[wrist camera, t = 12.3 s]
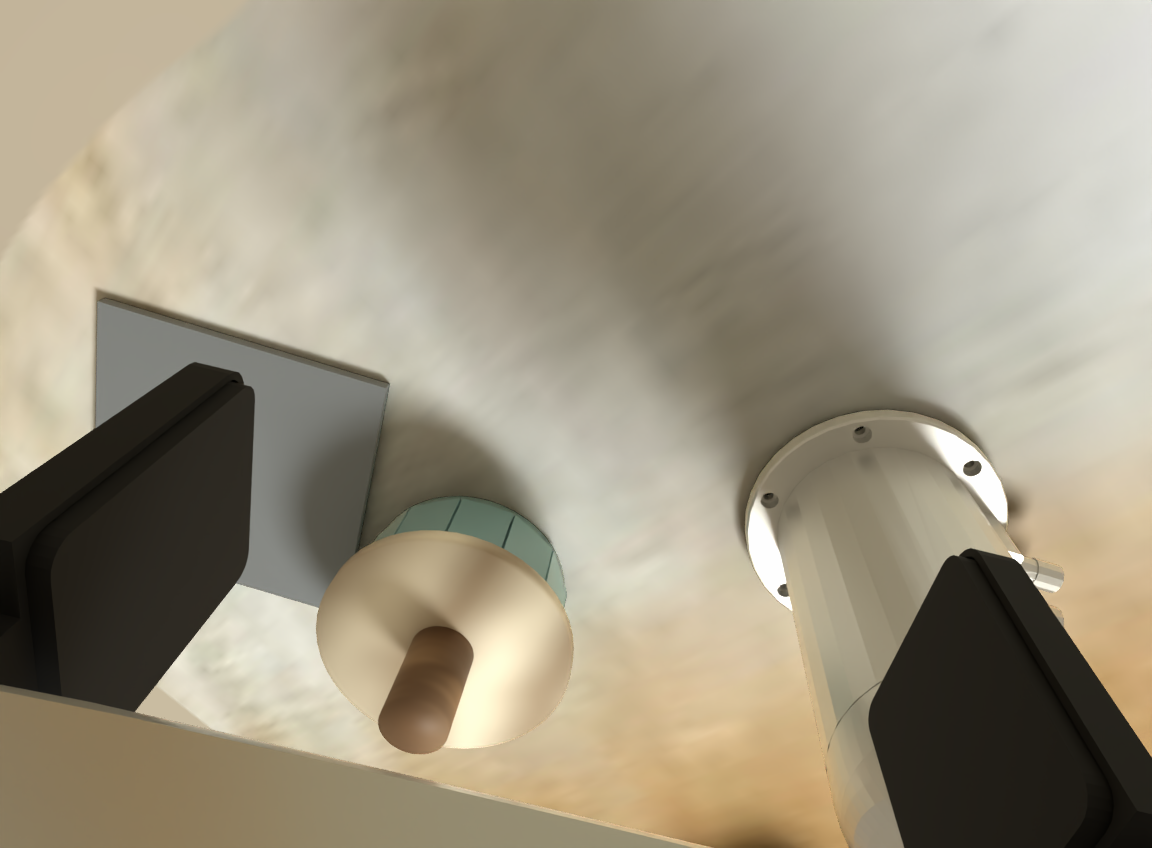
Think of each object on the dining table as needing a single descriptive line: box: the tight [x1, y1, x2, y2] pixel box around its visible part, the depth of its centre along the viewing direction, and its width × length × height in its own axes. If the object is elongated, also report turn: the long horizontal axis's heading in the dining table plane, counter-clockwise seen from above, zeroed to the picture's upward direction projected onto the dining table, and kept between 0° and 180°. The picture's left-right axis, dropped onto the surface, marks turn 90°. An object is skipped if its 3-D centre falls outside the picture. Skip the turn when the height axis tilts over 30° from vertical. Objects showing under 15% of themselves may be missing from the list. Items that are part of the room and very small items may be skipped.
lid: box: [316, 530, 574, 754], centre depth 39 cm, size 13×13×6 cm
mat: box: [96, 298, 390, 608], centre depth 44 cm, size 15×15×1 cm
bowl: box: [374, 496, 567, 607], centre depth 43 cm, size 11×11×5 cm
